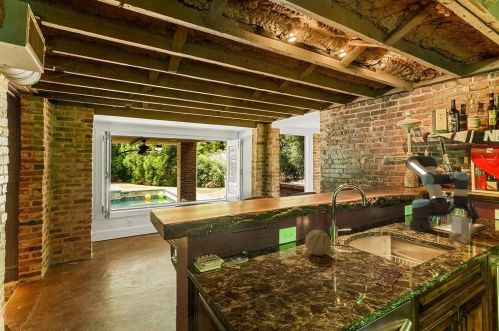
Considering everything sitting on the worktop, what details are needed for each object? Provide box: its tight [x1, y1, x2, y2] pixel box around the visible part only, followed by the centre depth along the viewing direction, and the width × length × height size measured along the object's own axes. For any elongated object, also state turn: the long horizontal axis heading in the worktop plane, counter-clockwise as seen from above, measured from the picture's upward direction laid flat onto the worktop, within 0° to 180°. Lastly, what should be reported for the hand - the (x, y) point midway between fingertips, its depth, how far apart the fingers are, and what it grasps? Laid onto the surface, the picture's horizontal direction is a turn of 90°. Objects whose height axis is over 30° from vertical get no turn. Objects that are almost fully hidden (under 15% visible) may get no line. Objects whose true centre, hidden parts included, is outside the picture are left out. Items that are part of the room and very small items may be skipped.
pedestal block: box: [448, 230, 472, 244], centre depth 170 cm, size 9×9×6 cm
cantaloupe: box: [304, 229, 332, 256], centre depth 149 cm, size 15×15×15 cm
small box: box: [451, 215, 470, 234], centre depth 170 cm, size 8×6×10 cm
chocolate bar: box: [375, 266, 401, 285], centre depth 119 cm, size 7×19×2 cm, turn 139°
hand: (459, 226), depth 170 cm, fingers open, 13 cm apart
